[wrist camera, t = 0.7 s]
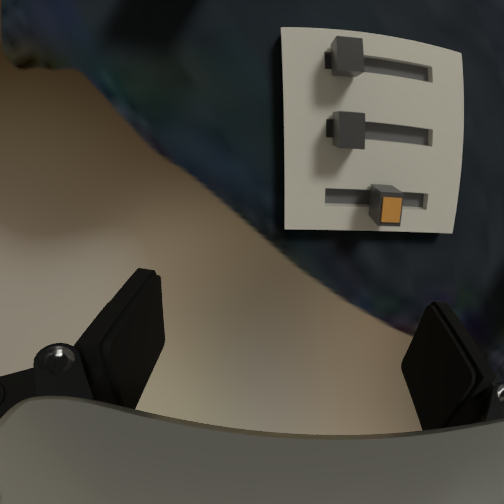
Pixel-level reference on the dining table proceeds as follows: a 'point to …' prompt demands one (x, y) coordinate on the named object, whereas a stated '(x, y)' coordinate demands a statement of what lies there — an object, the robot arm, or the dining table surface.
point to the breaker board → (371, 132)
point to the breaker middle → (349, 130)
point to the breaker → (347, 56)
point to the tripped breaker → (385, 205)
